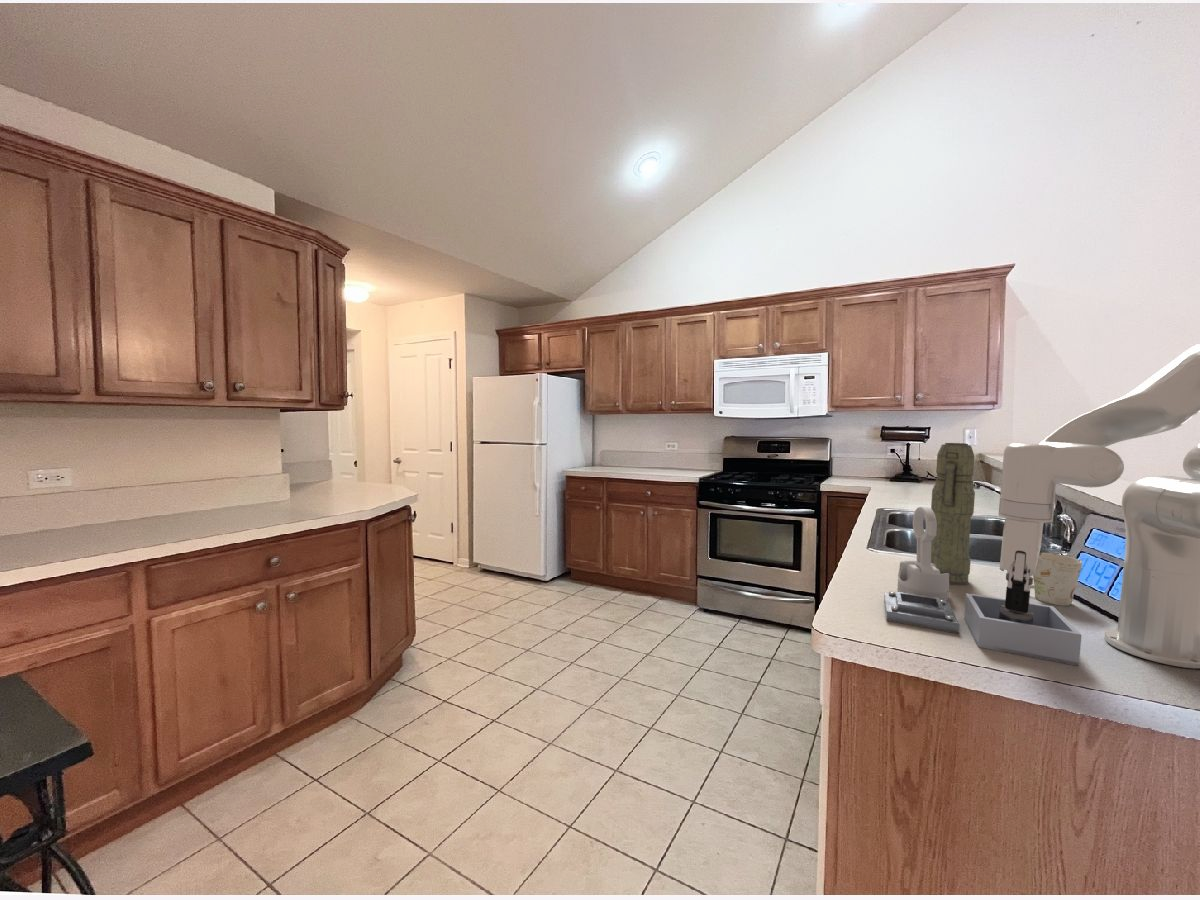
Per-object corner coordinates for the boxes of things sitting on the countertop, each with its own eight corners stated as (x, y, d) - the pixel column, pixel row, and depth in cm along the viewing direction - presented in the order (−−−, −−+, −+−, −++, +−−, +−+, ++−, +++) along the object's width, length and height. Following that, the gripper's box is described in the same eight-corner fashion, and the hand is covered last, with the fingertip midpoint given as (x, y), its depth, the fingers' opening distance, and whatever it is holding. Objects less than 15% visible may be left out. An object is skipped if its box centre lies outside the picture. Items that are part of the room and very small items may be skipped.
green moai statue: (924, 581, 122) (932, 443, 119) (929, 569, 131) (937, 441, 129) (968, 589, 117) (978, 445, 114) (969, 576, 126) (979, 443, 123)
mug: (1076, 611, 104) (1080, 566, 103) (1001, 594, 114) (1005, 553, 113) (1080, 601, 110) (1083, 558, 109) (1008, 586, 119) (1011, 546, 118)
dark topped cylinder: (1000, 615, 94) (1004, 570, 93) (1033, 623, 90) (1037, 576, 90) (997, 622, 90) (1001, 575, 90) (1031, 631, 87) (1035, 582, 86)
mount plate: (948, 611, 103) (949, 596, 103) (958, 633, 93) (959, 617, 93) (884, 600, 109) (884, 586, 109) (886, 620, 99) (887, 605, 98)
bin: (1050, 633, 93) (1053, 606, 93) (1078, 666, 81) (1081, 634, 81) (964, 619, 100) (965, 593, 99) (978, 646, 88) (980, 617, 87)
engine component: (907, 599, 110) (957, 603, 108) (913, 511, 108) (963, 513, 106) (889, 583, 120) (933, 586, 118) (893, 502, 119) (939, 504, 117)
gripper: (1002, 502, 97) (995, 590, 99) (995, 513, 85) (986, 614, 87) (1053, 507, 92) (1044, 601, 93) (1053, 520, 80) (1043, 627, 81)
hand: (1016, 606), depth 90 cm, fingers closed on dark topped cylinder, 3 cm apart
